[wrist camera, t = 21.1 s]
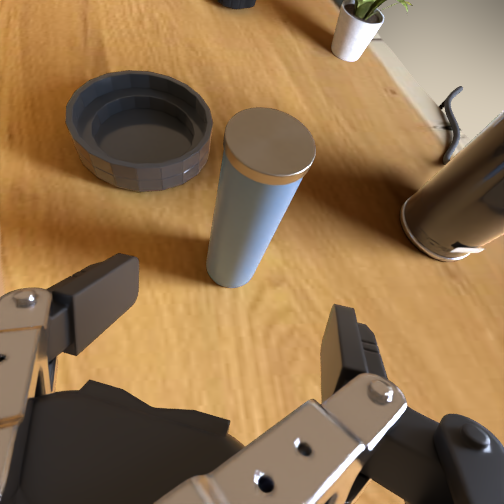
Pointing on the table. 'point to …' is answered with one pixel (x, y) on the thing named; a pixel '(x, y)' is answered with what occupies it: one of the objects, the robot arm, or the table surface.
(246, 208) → the canister
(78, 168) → the table surface
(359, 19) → the house plant
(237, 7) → the tape measure
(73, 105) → the bowl
